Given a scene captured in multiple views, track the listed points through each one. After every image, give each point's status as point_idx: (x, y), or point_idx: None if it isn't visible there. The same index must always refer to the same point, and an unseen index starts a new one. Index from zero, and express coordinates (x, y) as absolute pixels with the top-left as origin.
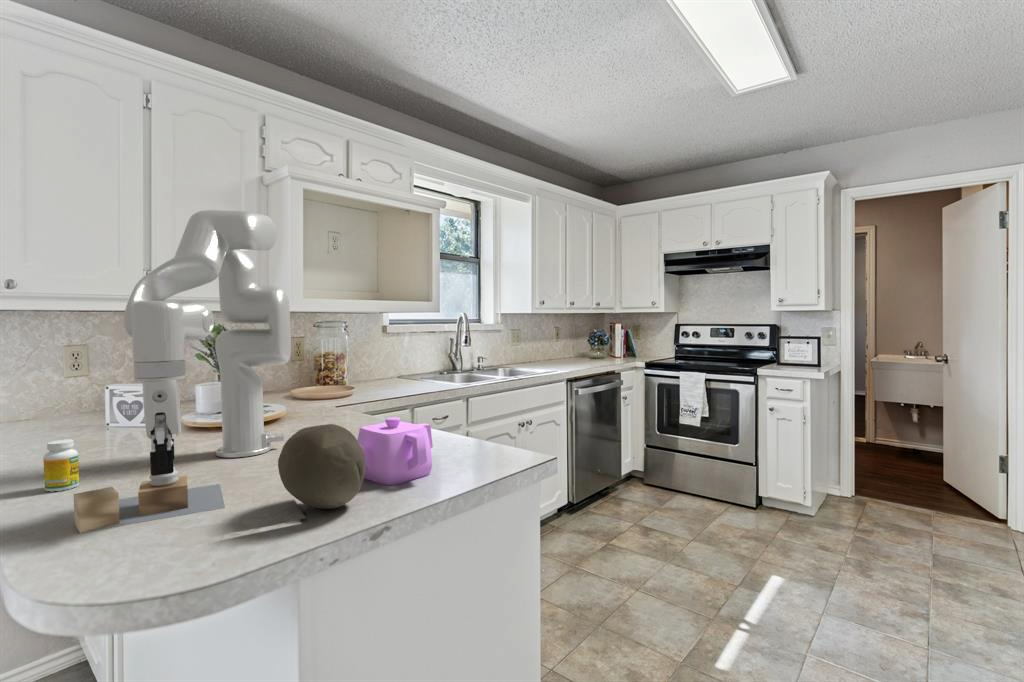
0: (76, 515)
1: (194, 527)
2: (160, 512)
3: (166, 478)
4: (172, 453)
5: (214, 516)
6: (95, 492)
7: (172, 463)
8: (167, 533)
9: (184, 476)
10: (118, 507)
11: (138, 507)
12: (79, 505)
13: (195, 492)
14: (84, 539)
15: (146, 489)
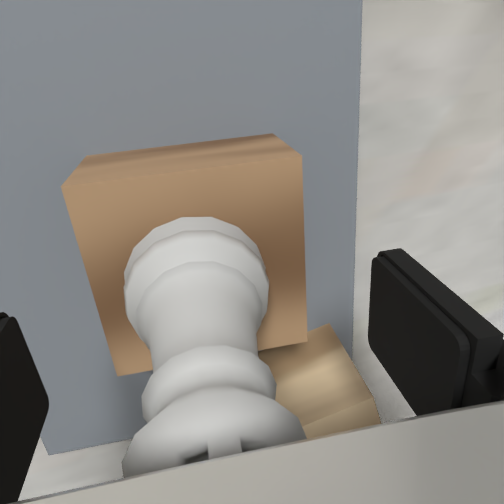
0: None
1: (463, 86)
2: None
3: (265, 272)
4: (482, 317)
5: (383, 12)
6: None
7: (428, 277)
8: (461, 170)
9: (82, 198)
10: (349, 359)
11: None
12: None
13: (15, 126)
14: (362, 368)
15: (273, 323)
